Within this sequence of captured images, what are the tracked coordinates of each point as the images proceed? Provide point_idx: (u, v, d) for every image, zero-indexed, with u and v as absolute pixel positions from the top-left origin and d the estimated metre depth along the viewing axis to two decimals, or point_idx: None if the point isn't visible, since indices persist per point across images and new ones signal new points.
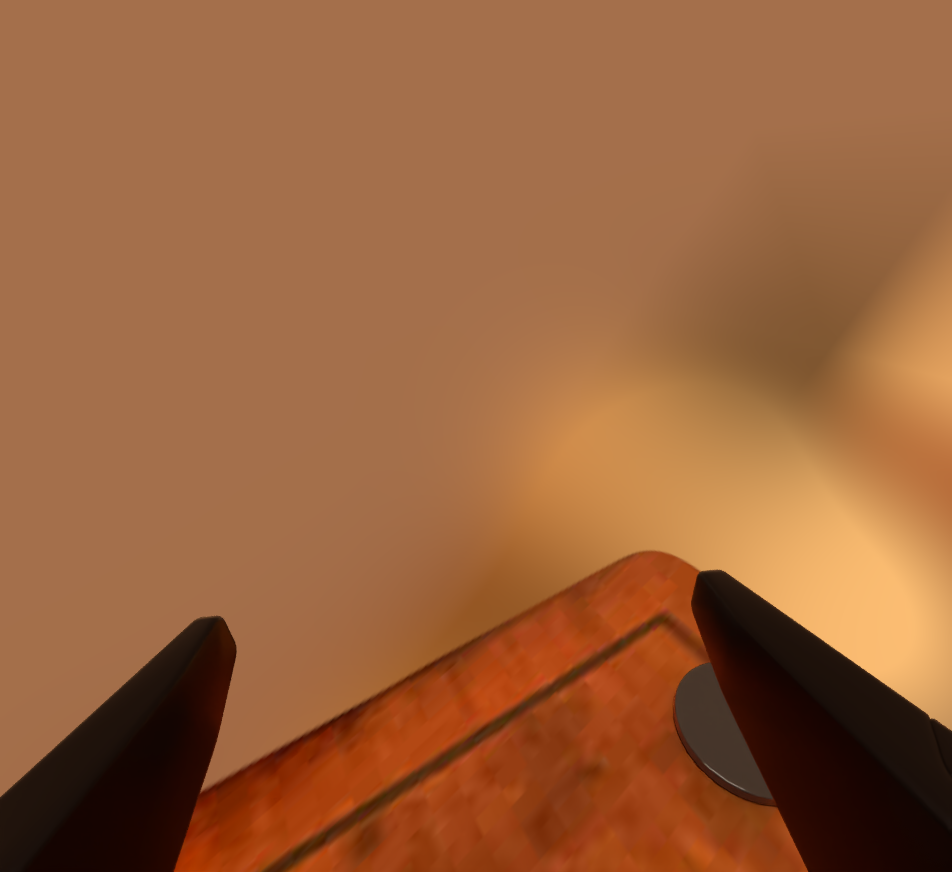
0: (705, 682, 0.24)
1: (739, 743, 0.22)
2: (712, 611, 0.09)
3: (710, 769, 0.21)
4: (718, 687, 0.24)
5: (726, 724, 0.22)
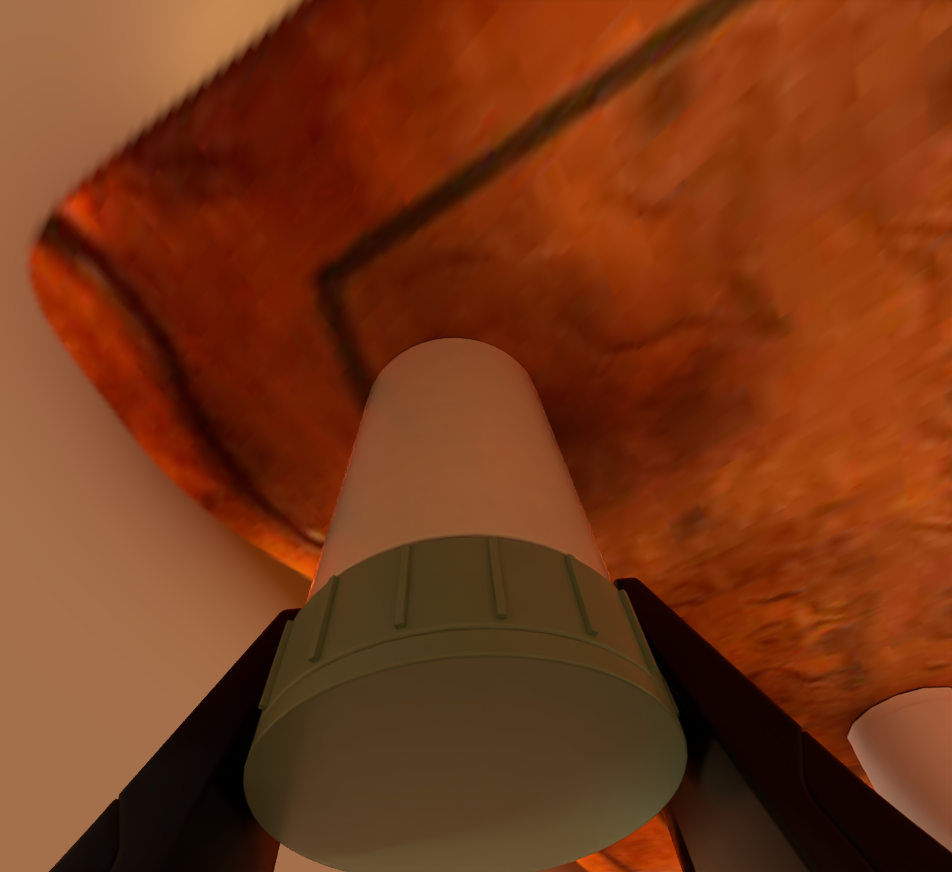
0: None
1: None
2: None
3: None
4: None
5: None
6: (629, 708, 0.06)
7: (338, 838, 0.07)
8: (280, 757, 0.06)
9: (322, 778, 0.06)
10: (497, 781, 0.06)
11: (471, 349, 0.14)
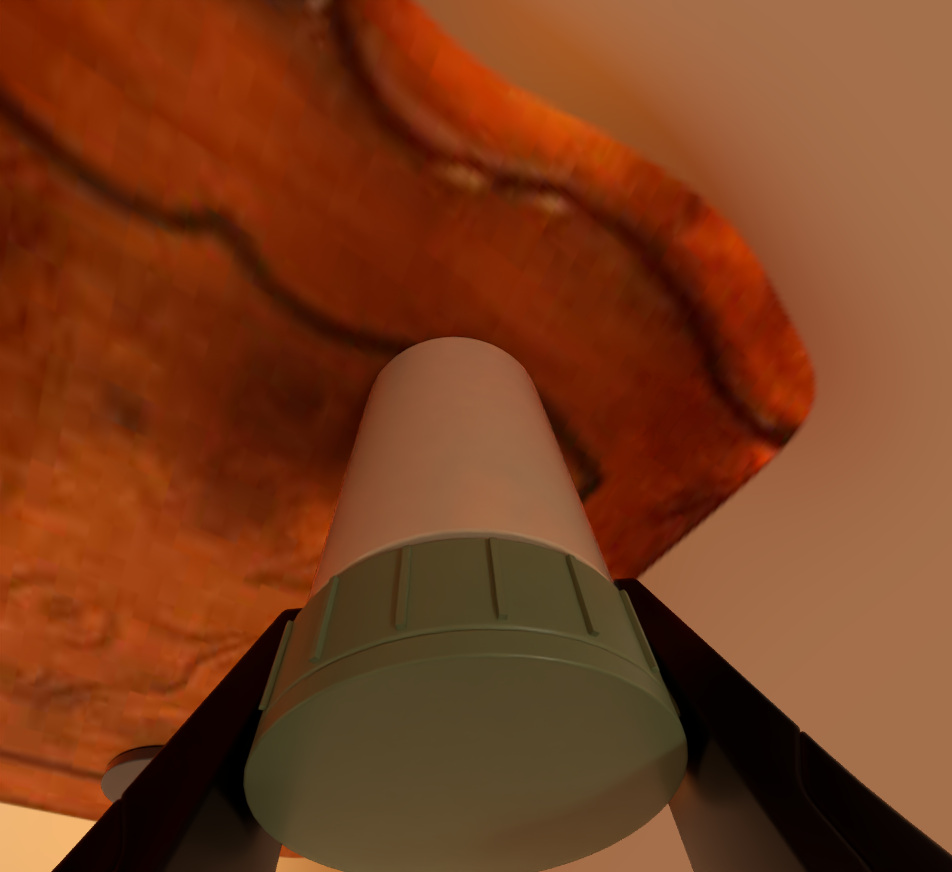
0: None
1: None
2: None
3: None
4: None
5: None
6: (630, 708, 0.06)
7: (338, 839, 0.07)
8: (280, 758, 0.06)
9: (322, 779, 0.06)
10: (498, 781, 0.06)
11: None
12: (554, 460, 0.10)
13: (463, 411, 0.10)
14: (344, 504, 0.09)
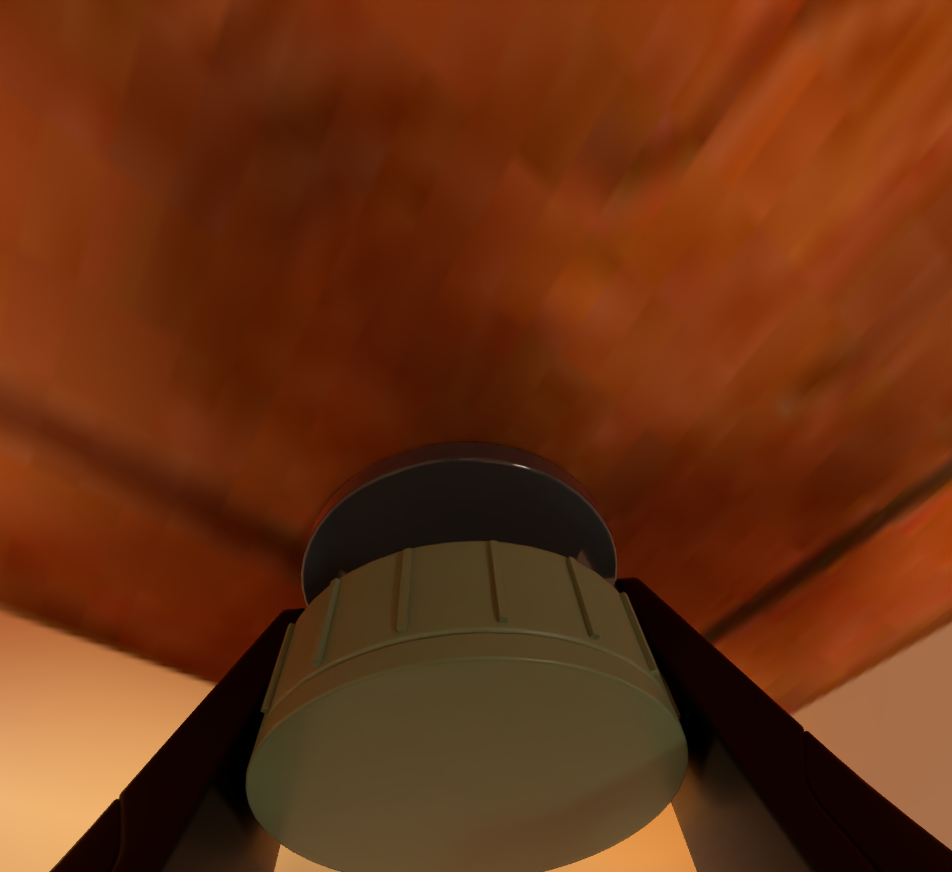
0: None
1: None
2: None
3: (550, 476, 0.08)
4: None
5: None
6: (630, 711, 0.06)
7: (340, 840, 0.07)
8: (283, 760, 0.06)
9: (324, 781, 0.06)
10: (499, 783, 0.06)
11: None
12: None
13: None
14: None
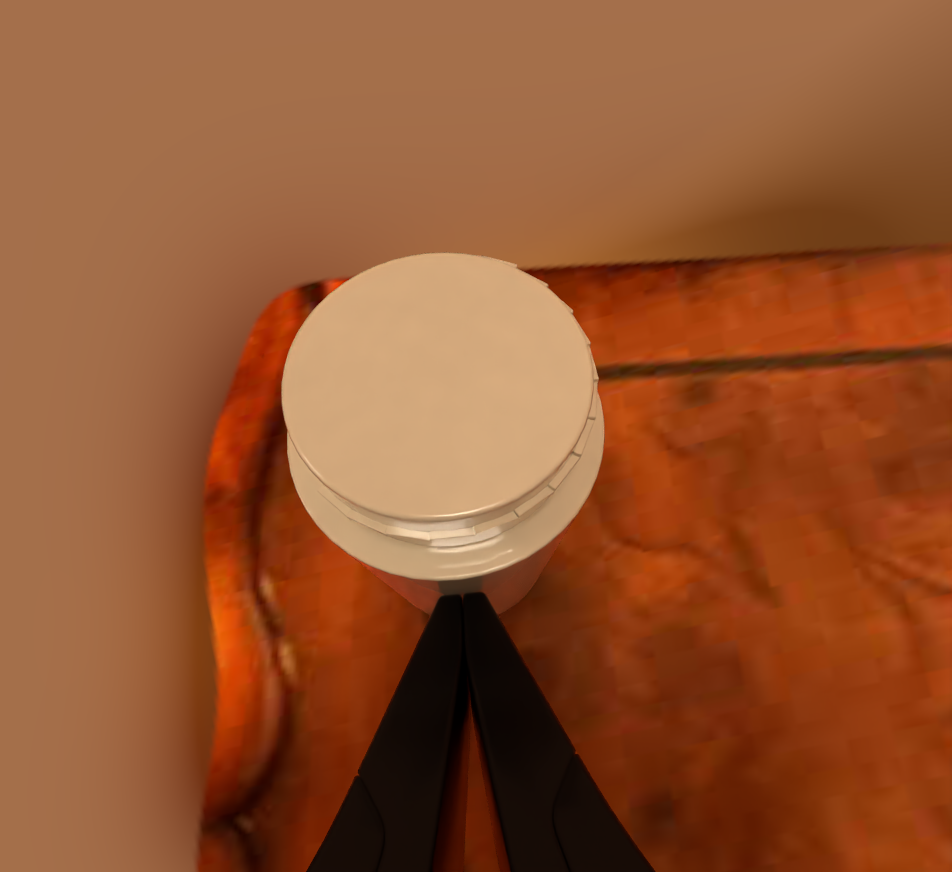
0: None
1: None
2: None
3: None
4: None
5: None
6: None
7: None
8: None
9: None
10: None
11: None
12: None
13: None
14: None
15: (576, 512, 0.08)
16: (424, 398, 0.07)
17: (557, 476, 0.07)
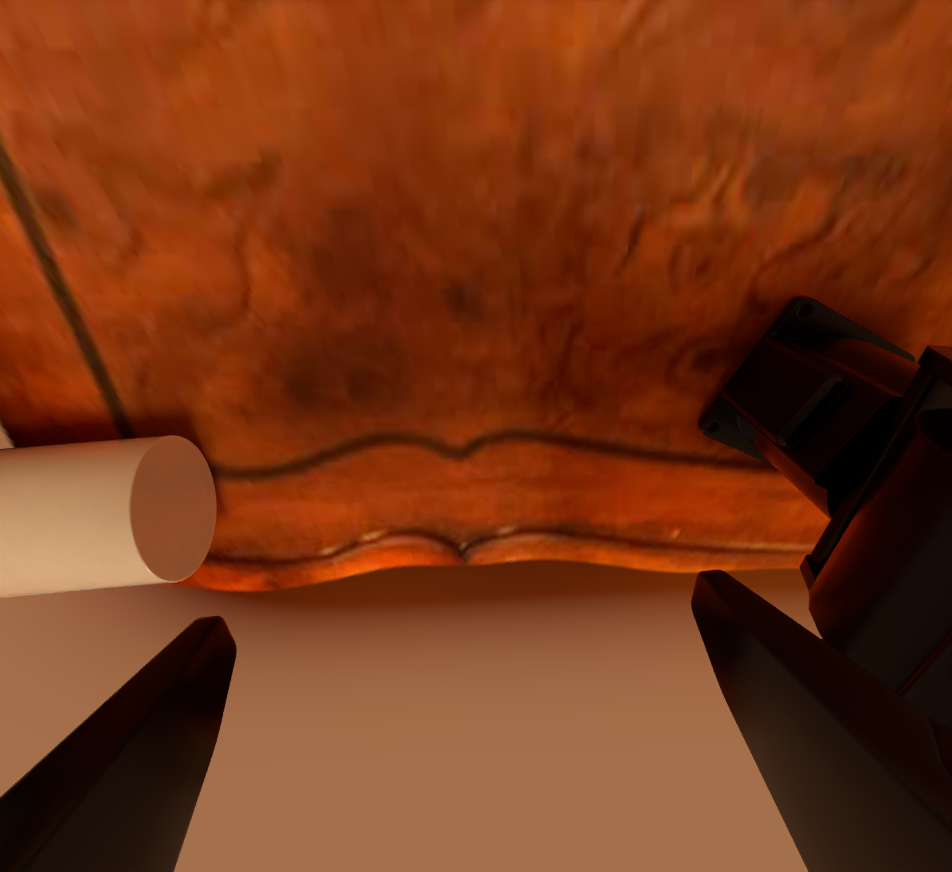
0: None
1: None
2: (712, 611, 0.09)
3: None
4: None
5: None
6: None
7: None
8: None
9: None
10: None
11: (141, 438, 0.18)
12: None
13: None
14: None
15: None
16: None
17: None
